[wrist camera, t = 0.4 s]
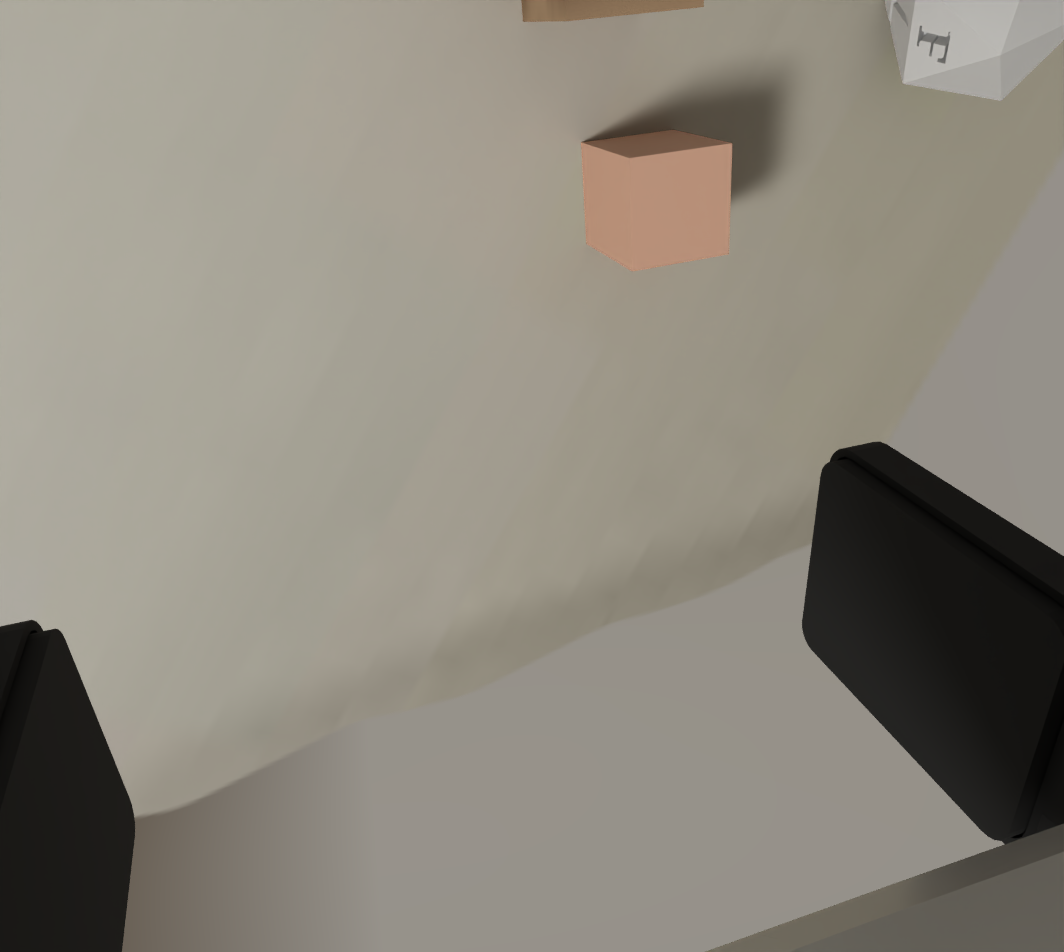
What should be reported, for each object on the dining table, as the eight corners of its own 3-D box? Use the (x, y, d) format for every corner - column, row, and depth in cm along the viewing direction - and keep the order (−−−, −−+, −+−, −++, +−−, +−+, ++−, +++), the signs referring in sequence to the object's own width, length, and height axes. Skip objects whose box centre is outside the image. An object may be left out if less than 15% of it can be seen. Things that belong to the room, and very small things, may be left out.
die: (887, -123, 41) (911, -25, 36) (1086, -158, 39) (1143, -58, 34) (868, 41, 48) (886, 145, 43) (1038, 19, 46) (1079, 125, 41)
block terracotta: (580, 142, 42) (629, 158, 37) (672, 129, 43) (732, 143, 38) (586, 243, 45) (632, 271, 39) (673, 229, 46) (728, 254, 41)
